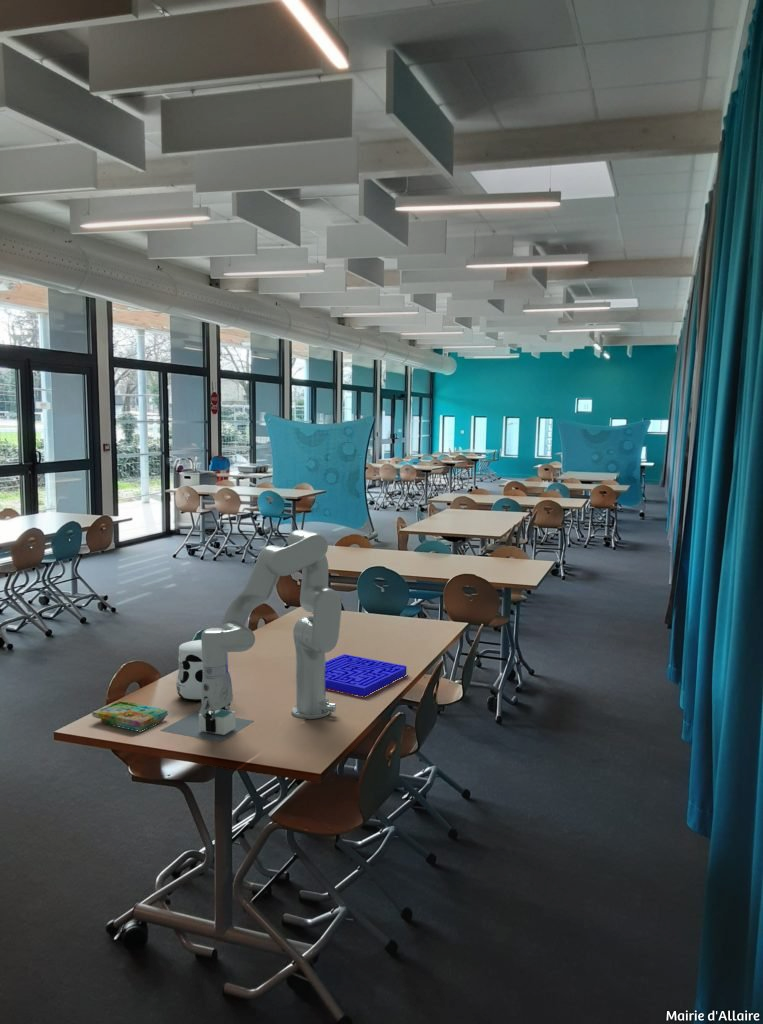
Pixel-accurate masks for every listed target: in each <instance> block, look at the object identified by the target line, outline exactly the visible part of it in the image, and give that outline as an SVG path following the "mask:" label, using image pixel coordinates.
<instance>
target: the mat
mask: <svg viewBox="0 0 763 1024" xmlns="http://www.w3.org/2000/svg"><path fill="white" fill-rule="evenodd" d="M199 711H200V710H196V711H194V712H192V713H190V714H189V715H186V716H185V717H183V718H180V719H179V720H177V721H175V722H173V723H172V724H170V725H168V726H166V727H164V728H162V729H160V731H161V732H165V733H171V734H174V735H175V734H176V735H181V736H187V737H191V738H196V739H201V740H207V741H212V742H219V743H222V742H224V741H226V740H227V739H229V738H230V737H231V736H232V737H233V735H234V734H236V733H238V732H239V731H241V730H243V729H245V728H246V727H248V726H249V725H251V724H252V723H254V722H255V720H252V719H251V720H250V719H245V718H240V717H235V720H236V728H234V729H233V730H231V731H230V732H228V733H226V734H225V735H222V734H216V733H210V732H205V731H199V714H200V712H199Z"/></svg>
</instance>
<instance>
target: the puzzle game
mask: <svg viewBox="0 0 763 1024" xmlns="http://www.w3.org/2000/svg"><path fill="white" fill-rule="evenodd" d="M91 716H92V717H93V718H96V719H100V720H101V722H102V723H103V724H104V725H107V724H110V725H109V726H112V725H115V726H114V727H116V726H120V727H124V728H123V729H125V728H129V729H133V730H138V731H142V730H144V729H146V728H149V727H151V726H153V725H155V724H157V725H159V724H161V723H163V722H164V720H165V719H166V717H167V716H168V710H167V709H165V708H160V707H159V708H158V707H154V706H150V705H144V704H141V703H140V704H139V703H134V702H130V701H123V700H118V701H116V702H113V703H111V704H108V705H105V706H103V707H102V708H101V707H100V708H99V709H97V710H94V711H92V713H91ZM162 721H163V722H162ZM160 722H161V723H160ZM158 723H159V724H158ZM155 726H156V725H155ZM120 727H119V728H120ZM153 727H154V726H153ZM151 728H152V727H151ZM129 729H128V730H129ZM149 729H150V728H149ZM133 730H132V731H133ZM144 731H145V730H144ZM142 732H143V731H142Z"/></svg>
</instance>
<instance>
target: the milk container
mask: <svg viewBox="0 0 763 1024" xmlns="http://www.w3.org/2000/svg"><path fill="white" fill-rule="evenodd" d="M177 659H178V662H177V663H178V673H177V677H176V682H175V683H176V684H175V686H176V691H177V694H178V696H179V697H180V698H182V699H183V700H187V701H190V702H191V701H192V702H193V701H194V702H195V701H196V702H202V701H201V691H202V679H203V668H202V642H201V639H197V640H190V641H186V642H183V643H181V644H180V645H179V646H178V658H177Z"/></svg>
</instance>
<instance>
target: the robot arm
mask: <svg viewBox="0 0 763 1024" xmlns="http://www.w3.org/2000/svg"><path fill="white" fill-rule="evenodd" d="M328 549H329V544H328V540H327V538H326V537H325V536H324V535H322V534H320V533H319V532H313V531H310V530H307V529H294V530H293V531H291V532H290V533H289V534H288V536H287V546H285V547H283V546H279V545H273V544H271V545H267V546H265V547H264V548H262V549H261V551H260V552H259V554H258V557H257V558H256V561H255V563H254V567H253V568H252V570H251V573H250V575H249V577H248V580H247V582H246V584H245V586H244V588H243V590H242V591H240V592H239V594H238V595H237V596H236V597H235V599H234V600H232V602H231V603H230V604H229V605H228V607H227V609H226V612H225V614H224V616H223V618H222V621H221V623H220V626H219V627H210V628H207V629H205V630H203V631H202V632H201V637H200V638H201V639H200V640H201V642H202V668H203V679H202V691H201V701H200V702H201V707H200V709H199V710H198V711H199V712H200V714H201V715H202V716H203V717H204V719H205V722H206V731H207V732H212V733H215V732H216V724H215V719H214V715H215V711H217V710H219V709H222V710H228V711H230V705H231V703H232V702H233V699H234V698H233V696H234V694H233V685H232V683H233V682H232V677H231V673H230V670H229V654H228V653H242V652H243V653H244V652H247V651H249V650H250V649H252V647H253V646H254V645H255V642H256V636H255V633H254V632H253V630H251V629H250V628H249V627H247V626H245V624H246V622H247V620H248V618H249V616H250V614H251V613H252V612H253V611H254V609H256V608H257V607H259V606H261V605H263V604H265V603H267V602H268V601H270V600H271V597H272V595H273V593H274V590H275V588H276V586H277V583H278V581H279V579H280V577H286V576H290V575H293V574H295V573H297V572H299V571H301V585H300V594H299V595H300V596H299V603H300V606H301V608H302V609H303V610H304V611H305V612H307V613H309V614H311V615H313V616H311V615H305V616H302V617H300V618H299V619H298V620H297V621H296V622H295V623H294V627H293V631H292V633H293V634H292V636H293V644H294V648H295V679H296V680H295V683H296V684H295V689H296V690H295V692H296V693H295V695H296V696H295V699H296V702H295V706H293V707H292V708H291V714H292V716H294V717H295V718H299V719H305V720H313V719H315V720H316V719H321V718H324V717H327V716H328V715H330V713H331V712H332V713H335V712H336V710H337V707H336V706H337V704H336V703H331V702H329V697H326V695H327V694H326V690H327V689H326V671H325V666H326V661H327V660H326V654H327V653H329V652H331V651H333V649H335V647H336V646H337V644H338V641H339V637H340V627H341V619H342V618H341V616H342V601H341V598H340V597H341V596H340V595H339V594H338V592H337V591H336V590H334V589H332V588H331V587H329V562H328V559H327V555H326V554H327V552H328V551H329V550H328ZM209 708H210V709H209ZM209 711H211V715H210V714H209Z"/></svg>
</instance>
